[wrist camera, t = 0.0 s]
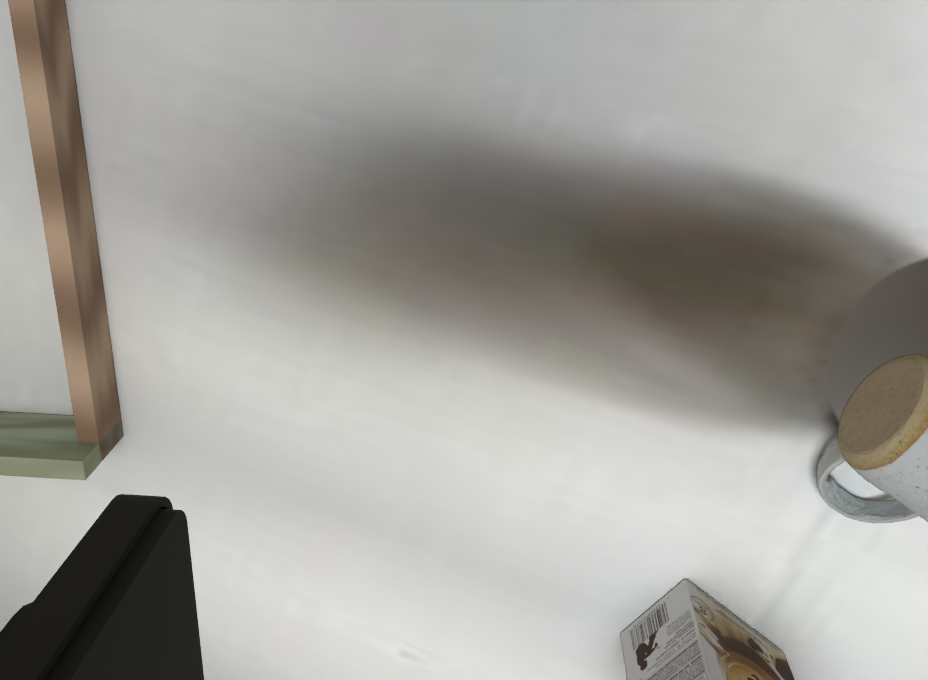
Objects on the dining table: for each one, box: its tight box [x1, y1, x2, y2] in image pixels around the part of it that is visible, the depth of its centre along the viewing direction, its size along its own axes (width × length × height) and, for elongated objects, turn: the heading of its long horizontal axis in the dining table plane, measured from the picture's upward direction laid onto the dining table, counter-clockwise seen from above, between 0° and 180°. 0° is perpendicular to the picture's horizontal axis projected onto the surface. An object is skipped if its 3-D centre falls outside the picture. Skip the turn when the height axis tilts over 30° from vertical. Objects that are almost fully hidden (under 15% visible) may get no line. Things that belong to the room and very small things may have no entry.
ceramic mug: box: [817, 354, 928, 523], centre depth 46 cm, size 11×8×8 cm
